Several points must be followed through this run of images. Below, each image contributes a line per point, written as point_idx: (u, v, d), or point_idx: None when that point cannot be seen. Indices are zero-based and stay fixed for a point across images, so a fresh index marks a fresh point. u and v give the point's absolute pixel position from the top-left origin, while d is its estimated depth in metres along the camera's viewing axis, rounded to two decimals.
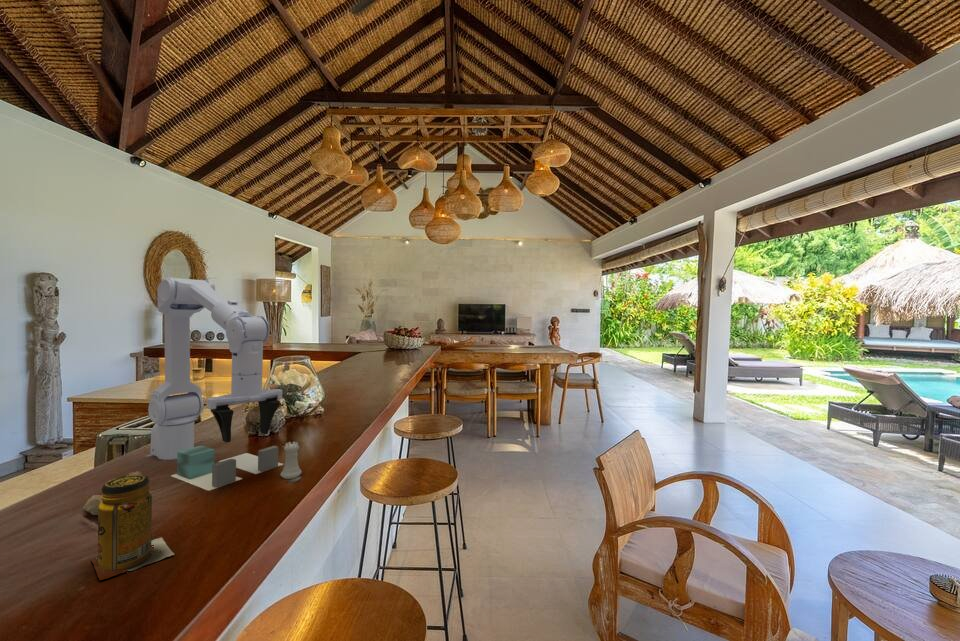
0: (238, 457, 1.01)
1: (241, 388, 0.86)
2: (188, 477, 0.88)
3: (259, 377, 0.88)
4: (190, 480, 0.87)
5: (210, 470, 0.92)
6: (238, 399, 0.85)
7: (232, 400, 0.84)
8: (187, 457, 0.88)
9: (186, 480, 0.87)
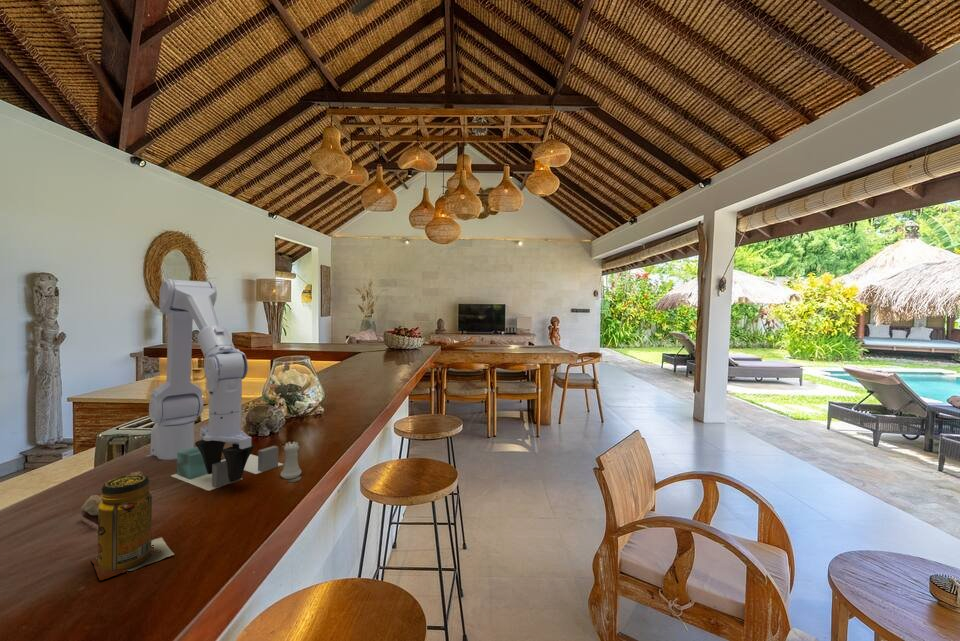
0: None
1: None
2: (188, 477, 0.88)
3: (217, 418, 0.83)
4: (190, 480, 0.87)
5: None
6: (206, 434, 0.85)
7: (204, 434, 0.86)
8: (187, 457, 0.88)
9: (186, 480, 0.87)
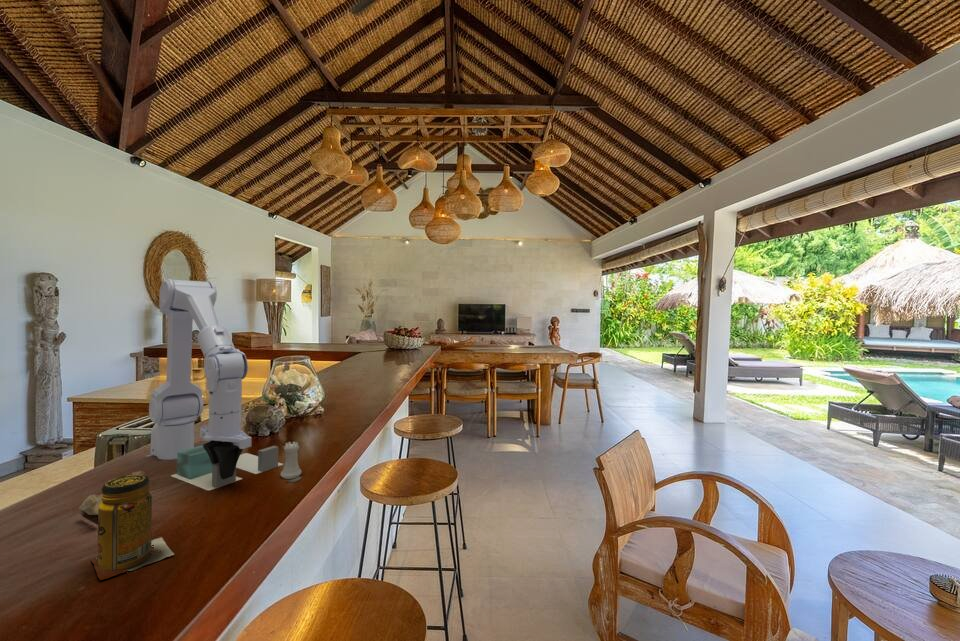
0: None
1: None
2: (188, 477, 0.88)
3: (217, 418, 0.83)
4: (190, 480, 0.87)
5: (210, 470, 0.92)
6: (206, 434, 0.85)
7: (204, 434, 0.86)
8: (187, 457, 0.88)
9: (186, 480, 0.87)
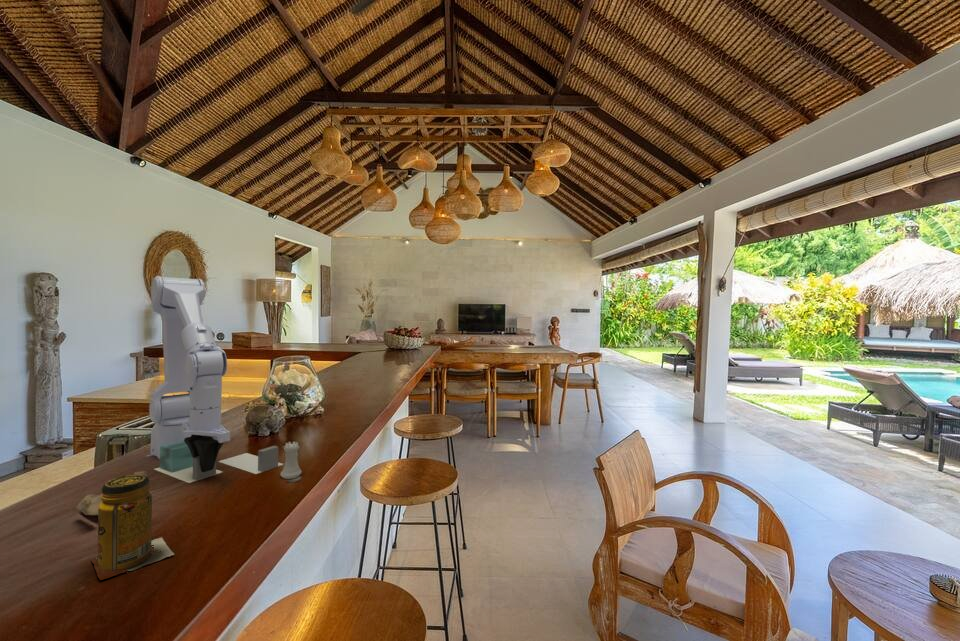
0: (238, 457, 1.01)
1: None
2: (170, 470, 0.91)
3: (197, 413, 0.87)
4: (172, 473, 0.91)
5: (192, 464, 0.95)
6: (187, 429, 0.89)
7: (186, 428, 0.89)
8: (169, 451, 0.91)
9: (168, 473, 0.91)
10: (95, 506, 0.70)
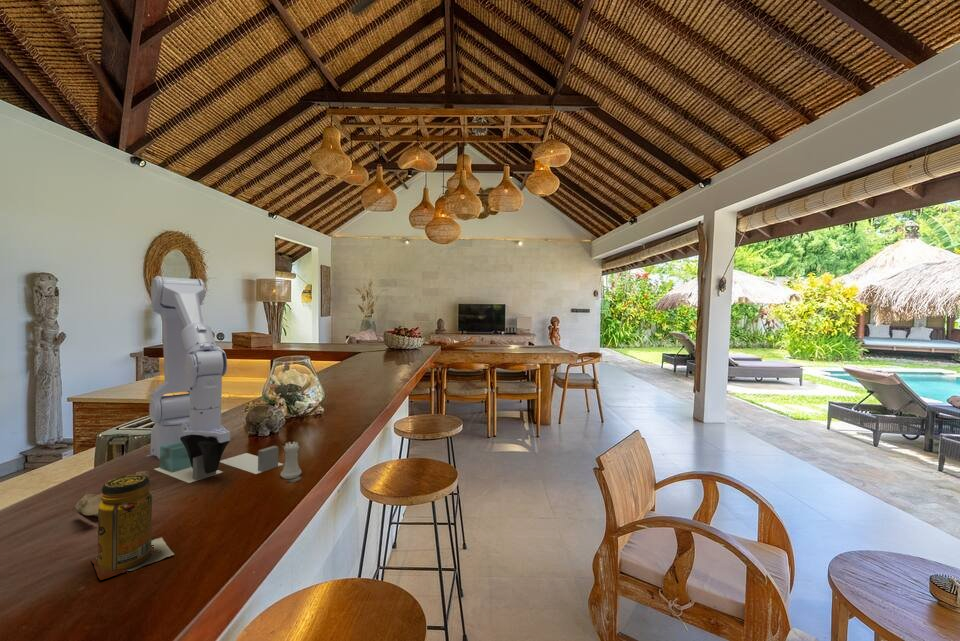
0: (238, 457, 1.01)
1: None
2: (170, 470, 0.91)
3: (197, 413, 0.87)
4: (172, 473, 0.91)
5: None
6: (187, 429, 0.89)
7: (186, 428, 0.89)
8: (169, 451, 0.91)
9: (168, 473, 0.91)
10: (91, 507, 0.70)
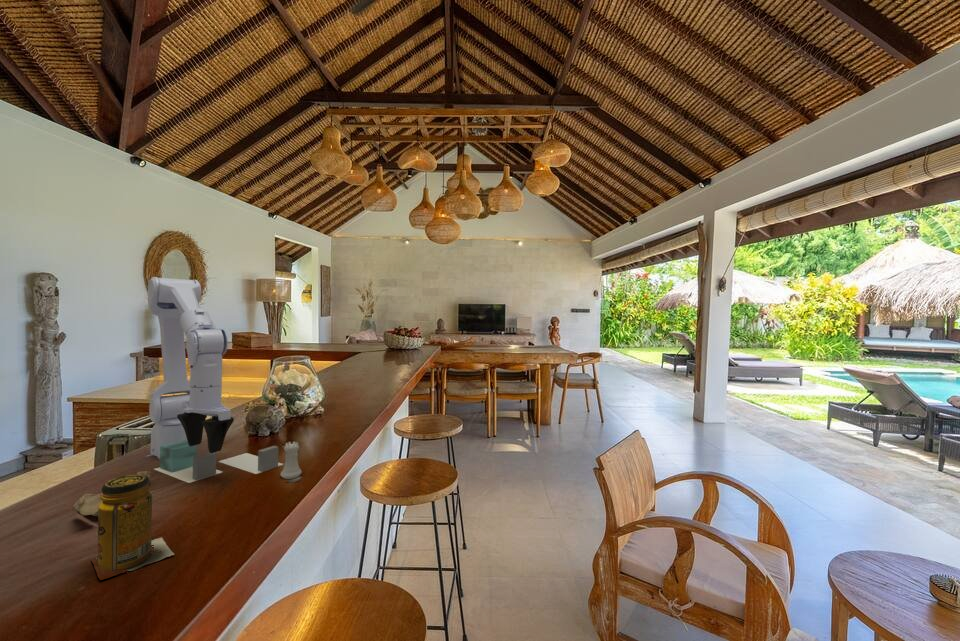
0: (238, 457, 1.01)
1: None
2: (170, 470, 0.91)
3: (197, 391, 0.86)
4: (172, 473, 0.91)
5: (192, 464, 0.95)
6: (187, 407, 0.89)
7: (186, 407, 0.89)
8: (169, 451, 0.91)
9: (168, 473, 0.91)
10: (88, 506, 0.70)
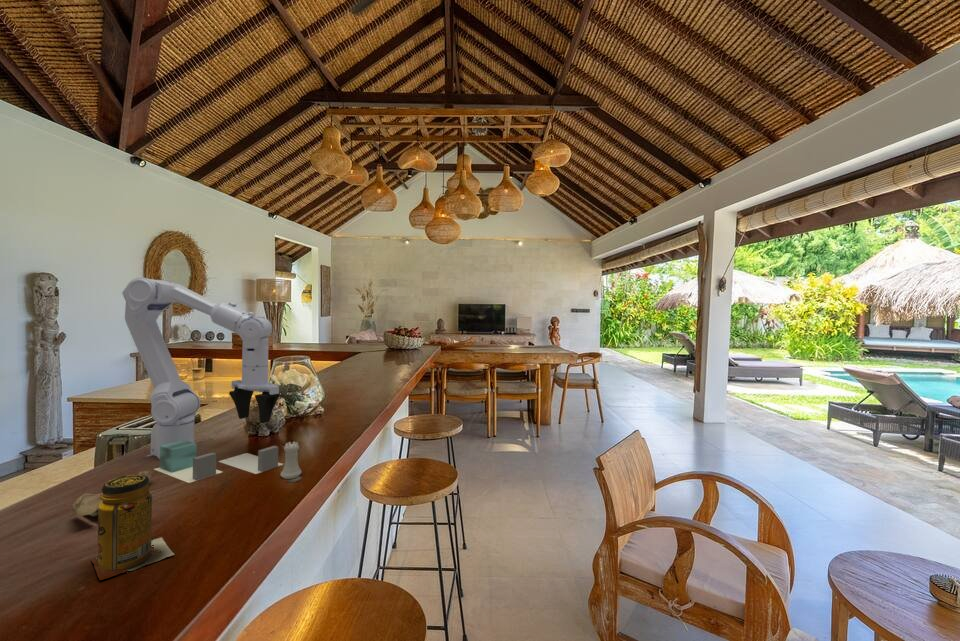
0: (238, 457, 1.01)
1: None
2: (170, 470, 0.91)
3: (250, 370, 1.01)
4: (172, 473, 0.91)
5: (192, 464, 0.95)
6: (239, 385, 1.03)
7: (237, 385, 1.03)
8: (169, 451, 0.91)
9: (168, 473, 0.91)
10: (85, 507, 0.70)
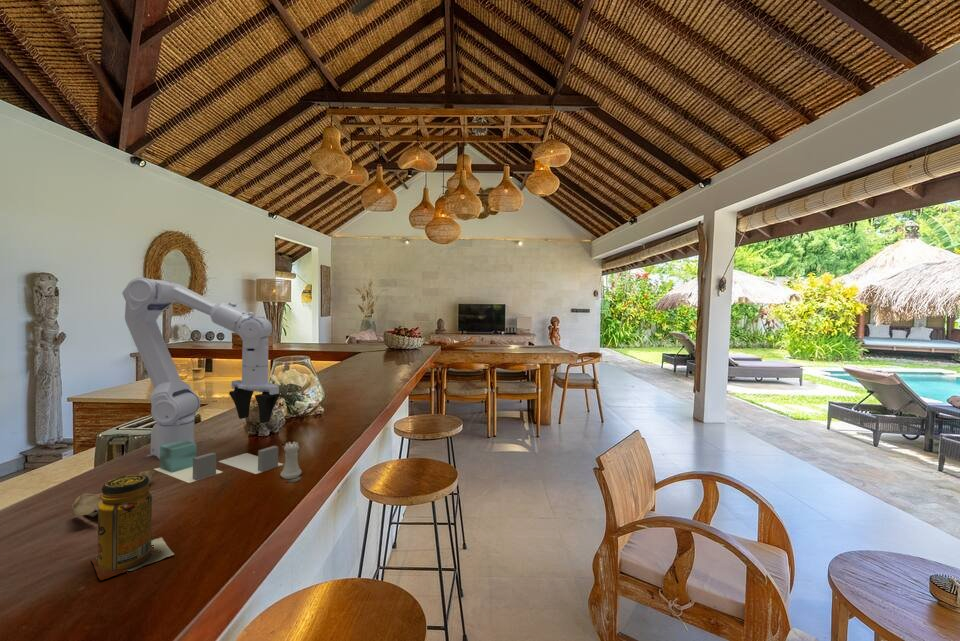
0: (238, 457, 1.01)
1: None
2: (170, 470, 0.91)
3: (250, 370, 1.01)
4: (172, 473, 0.91)
5: (192, 464, 0.95)
6: (239, 385, 1.03)
7: (237, 385, 1.03)
8: (169, 451, 0.91)
9: (168, 473, 0.91)
10: (83, 507, 0.70)
